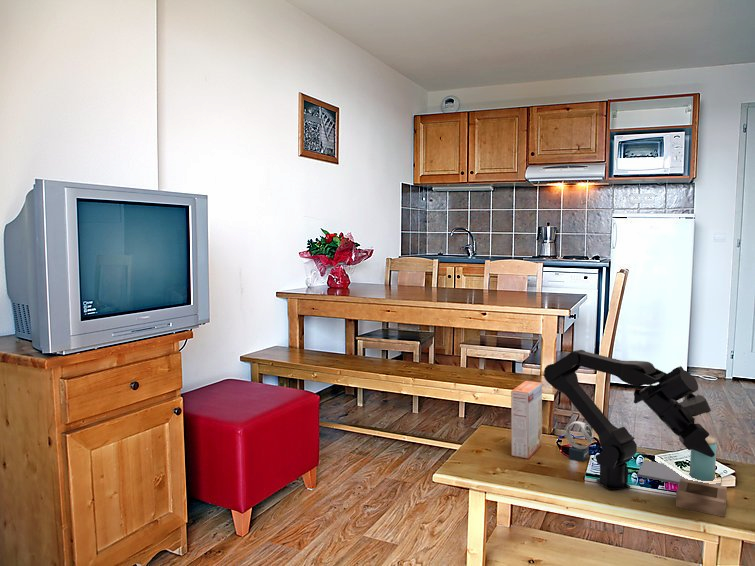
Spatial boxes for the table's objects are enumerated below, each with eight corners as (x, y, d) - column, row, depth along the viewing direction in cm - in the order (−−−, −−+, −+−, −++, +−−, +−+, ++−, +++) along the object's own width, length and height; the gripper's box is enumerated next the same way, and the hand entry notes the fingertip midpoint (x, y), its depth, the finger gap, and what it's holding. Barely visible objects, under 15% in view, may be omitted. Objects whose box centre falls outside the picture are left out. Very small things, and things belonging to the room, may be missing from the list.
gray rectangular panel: (721, 477, 166) (721, 474, 166) (719, 493, 156) (719, 489, 156) (644, 463, 177) (644, 460, 177) (637, 477, 167) (637, 473, 167)
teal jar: (701, 482, 147) (703, 442, 146) (684, 473, 152) (686, 435, 152) (719, 480, 148) (722, 441, 148) (702, 471, 154) (704, 433, 153)
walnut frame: (675, 506, 149) (676, 492, 149) (680, 490, 158) (680, 478, 158) (724, 516, 143) (725, 502, 143) (726, 500, 152) (726, 486, 152)
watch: (589, 463, 177) (590, 427, 176) (562, 457, 182) (563, 422, 181) (595, 457, 182) (596, 422, 181) (568, 452, 186) (569, 417, 185)
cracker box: (524, 442, 195) (524, 379, 193) (542, 445, 192) (543, 382, 190) (509, 456, 183) (510, 389, 182) (528, 459, 180) (529, 392, 178)
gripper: (701, 395, 140) (750, 444, 139) (678, 376, 158) (721, 419, 157) (664, 425, 142) (712, 474, 141) (645, 403, 161) (688, 446, 159)
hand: (709, 451), depth 150 cm, fingers closed on teal jar, 6 cm apart
